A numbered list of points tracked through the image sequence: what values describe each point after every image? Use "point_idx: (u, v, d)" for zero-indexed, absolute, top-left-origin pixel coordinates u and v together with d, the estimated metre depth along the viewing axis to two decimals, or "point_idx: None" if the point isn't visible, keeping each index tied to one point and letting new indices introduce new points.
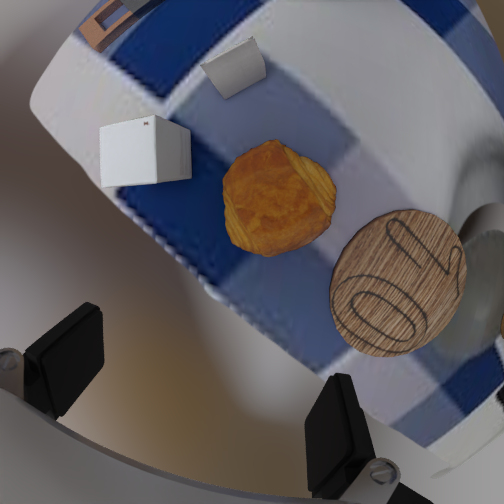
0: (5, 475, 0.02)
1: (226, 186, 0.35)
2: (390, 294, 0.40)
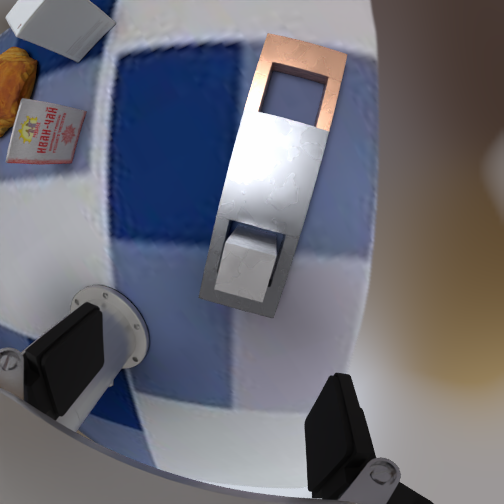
0: (5, 475, 0.02)
1: (18, 62, 0.21)
2: None
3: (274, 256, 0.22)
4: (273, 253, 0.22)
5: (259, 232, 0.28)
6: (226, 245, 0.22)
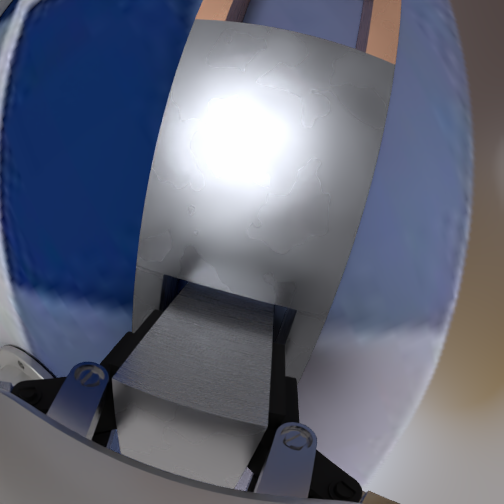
0: (5, 475, 0.02)
1: None
2: None
3: (261, 426, 0.06)
4: (259, 409, 0.06)
5: (235, 297, 0.12)
6: (116, 386, 0.06)
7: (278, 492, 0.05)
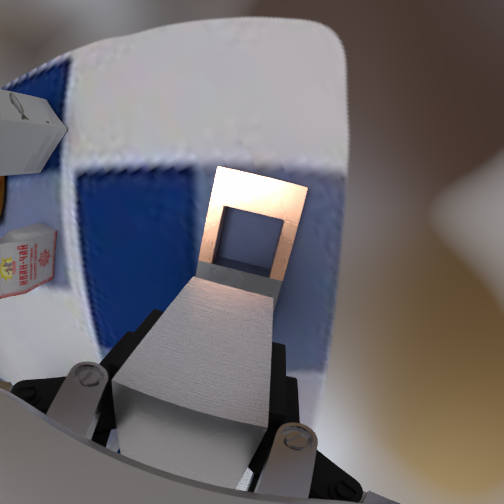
0: (5, 475, 0.02)
1: None
2: None
3: (261, 427, 0.06)
4: (259, 410, 0.06)
5: (235, 298, 0.12)
6: (116, 388, 0.06)
7: (279, 492, 0.05)
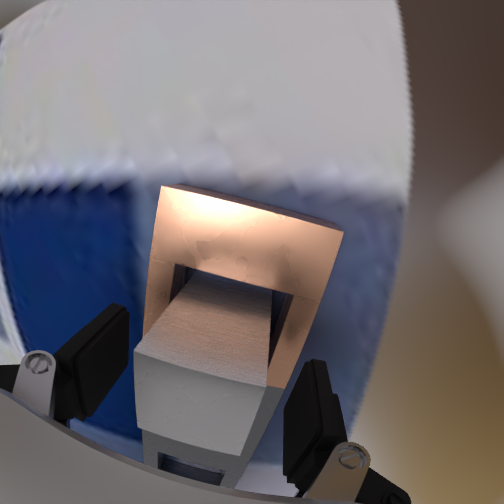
0: (5, 475, 0.02)
1: None
2: None
3: (260, 387, 0.07)
4: (259, 373, 0.08)
5: (238, 285, 0.14)
6: (137, 357, 0.08)
7: None
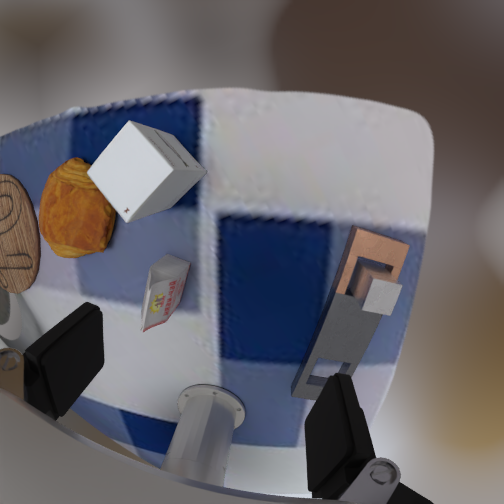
0: (5, 475, 0.02)
1: (96, 193, 0.34)
2: (3, 225, 0.39)
3: (401, 285, 0.29)
4: (399, 283, 0.30)
5: (372, 264, 0.36)
6: (374, 280, 0.30)
7: None
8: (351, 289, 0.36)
